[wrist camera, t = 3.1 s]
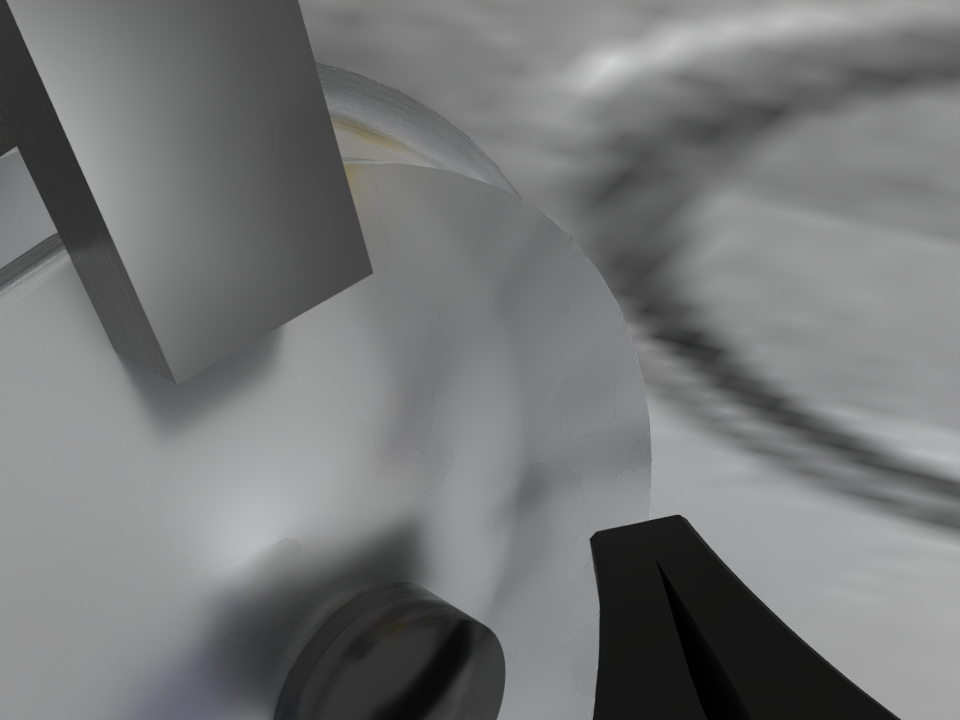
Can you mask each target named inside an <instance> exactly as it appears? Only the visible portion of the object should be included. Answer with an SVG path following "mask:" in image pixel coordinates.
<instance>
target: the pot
mask: <svg viewBox="0 0 960 720" xmlns="http://www.w3.org/2000/svg"><path fill="white" fill-rule="evenodd" d="M315 64H316V68H317V71H318V75H319V78H320V82H321V86H322V89H323V93H324V97H325V100H326V104H327V107H328V111H329V115H330V118H331V122H332V125H333V129H334V133H335V136H336V140H337V143H338V147H339V151H340V154H341V157H352V158H361V159H369V160H378V161H387V162H396V163H403V164H409V165H416V166H422V167H429V168H435V169H442V170H448V171H454V172H457V173H460V174H463V175H466V176H469V177H471V178H474V179H477V180H480V181H483V182H486V183H488V184H491V185H494V186H497V187H500V188H502V189H504V190H506V191H507V192H509V193H511V194H512V195H514V196H516V197H518V198H519V199H521V200H522V198H521V196H520V195H519V194H518V192H517V191H516V190H515V189H514V187H513V186H512V185H511V183H510V182H509V181H508V179H507V178H506V177H505V175H504V174H503V173H502V171H501V170H500V169H499V168H498V166H497V165H496V164H495V163H494V162H493V161H492V160H491V159H490V158H489V157H488V156H487V155H486V154H485V153H484V152H483V151H482V150H481V149H480V148H479V147H478V146H477V145H476V144H475V143H474V142H473V141H472V140H471V139H470V138H469V137H468V136H466V135H465V134H464V133H462V132H461V131H460V130H458V129H457V128H456V127H454V126H453V125H452V124H451V123H449V122H448V121H447V120H445V119H444V118H443V117H441V116H440V115H439V114H437V113H436V112H435V111H433V110H431V109H429V108H428V107H426V106H424V105H422V104H421V103H419V102H417V101H415V100H414V99H412V98H410V97H408V96H407V95H405V94H403V93H401V92H400V91H398V90H396V89H393V88H391V87H388V86H386V85H384V84H381V83H379V82H376V81H374V80H371V79H369V78H366V77H364V76H362V75H359V74H357V73H353V72H349V71H346V70H342V69H338V68H334V67H331V66H327V65H323V64H319V63H316V62H315ZM57 232H58V231H57V229H56V227H55V225H54V223H53V221H52V219H51V217H50V215H49V213H48V211H47V208H46V206H45V204H44V202H43V200H42V198H41V196H40V194H39V192H38V190H37V188H36V185H35V183H34V181H33V179H32V177H31V175H30V173H29V171H28V169H27V167H26V165H25V162H24V160H23V158H22V156H21V154H20V152H19V150H18V148H17V146H15V147H14V148H12V149H11V150H10V151H8V152H7V153H5V154H4V155H2V156H1V157H0V269H1V268H2V267H4V266H5V265H7V264H8V263H10V262H11V261H13V260H14V259H16V258H17V257H19V256H20V255H22V254H23V253H25V252H26V251H28V250H29V249H31V248H32V247H34V246H36V245H37V244H39V243H40V242H42V241H43V240H45V239H46V238H48V237H49V236H51V235H53V234H55V233H57Z"/></svg>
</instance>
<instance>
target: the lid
mask: <svg viewBox="0 0 960 720" xmlns="http://www.w3.org/2000/svg"><path fill="white" fill-rule="evenodd" d="M0 112H1V114H2V117H3V119H4V121H5V123H6V125H7V127H8V129H9V131H10V133H11V135H12V137H13V139H14V142H15V144H16V146H17V148H18V150H19V152H20V154H21V156H22V158H23V160H24V162H25V165H26V167H27V169H28V171H29V173H30V175H31V177H32V179H33V181H34V183H35V185H36V188H37V190H38V192H39V194H40V196H41V198H42V200H43V202H44V204H45V206H46V208H47V211H48V213H49V215H50V217H51V219H52V221H53V223H54V225H55V227H56V229H57V231H58V232H57V233H55V234H53V235H51V236H49V237H48V238H46V239H45V240H43V241H42V242H40V243H39V244H37V245H36V246H34V247H32V248H31V249H29V250H28V251H26V252H25V253H23V254H22V255H20V256H19V257H17V258H16V259H14V260H13V261H11V262H10V263H8V264H7V265H5V266H4V267H2V268H1V269H0V720H593V713H594V703H595V692H596V681H597V670H598V658H599V616H600V606H599V597H598V591H597V584H596V578H595V571H594V565H593V558H592V552H591V545H590V538H591V537H592V536H593V535H594V533H595V532H596V531H601V530H606V529H610V528H615V527H620V526H625V525H630V524H635V523H640V522H644V521H648V514H649V506H650V487H651V441H650V422H649V414H648V407H647V400H646V394H645V387H644V380H643V376H642V372H641V369H640V365H639V361H638V357H637V354H636V350H635V346H634V342H633V340H632V337H631V335H630V332H629V330H628V327H627V325H626V322H625V320H624V317H623V315H622V312H621V310H620V307H619V305H618V303H617V301H616V300H615V298H614V296H613V294H612V293H611V291H610V289H609V288H608V286H607V284H606V282H605V281H604V279H603V277H602V275H601V274H600V272H599V270H598V269H597V268H596V267H595V265H594V264H593V263H592V262H591V261H590V259H589V258H588V257H587V256H586V254H585V253H584V252H583V251H582V249H581V248H580V247H579V246H578V245H577V243H576V242H575V241H574V240H573V239H572V238H571V237H570V236H569V235H568V234H567V233H566V232H564V231H563V230H562V229H561V228H560V227H559V226H557V225H556V224H555V223H554V222H553V221H552V220H550V219H549V218H548V217H547V216H546V215H545V214H544V213H542V212H541V211H540V210H538V209H536V208H535V207H533V206H531V205H530V204H528V203H526V202H524V201H523V200H521V199H519V198H518V197H516V196H514V195H512V194H511V193H509V192H507V191H506V190H504V189H502V188H500V187H497V186H494V185H491V184H488V183H486V182H483V181H480V180H477V179H474V178H471V177H469V176H466V175H463V174H460V173H457V172H454V171H448V170H442V169H435V168H429V167H422V166H416V165H409V164H403V163H396V162H387V161H378V160H369V159H361V158H352V157H341V154H340V151H339V147H338V143H337V140H336V136H335V133H334V129H333V125H332V122H331V118H330V115H329V111H328V107H327V104H326V100H325V97H324V93H323V89H322V86H321V82H320V78H319V75H318V71H317V68H316V64H315V60H314V57H313V53H312V50H311V46H310V42H309V39H308V35H307V32H306V28H305V24H304V21H303V17H302V14H301V10H300V6H299V3H298V0H0Z"/></svg>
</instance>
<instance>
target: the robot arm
mask: <svg viewBox="0 0 960 720" xmlns="http://www.w3.org/2000/svg"><path fill="white" fill-rule="evenodd" d="M590 545H591V552H592V558H593V565H594V571H595V578H596V584H597V591H598V597H599V606H600V616H599V658H598V670H597V681H596V692H595V703H594V713H593V720H901V719H899V718H898V717H897V716H895V715H894V714H893V713H891V712H890V711H889V710H887V709H886V708H885V707H884V706H882V705H881V704H880V703H878V702H877V701H876V700H874V699H873V698H872V697H870V696H869V695H868V694H867V693H865V692H864V691H863V690H861V689H860V688H859V687H858V686H856V685H855V684H854V683H853V682H851V681H850V680H849V679H848V678H847V677H845V676H844V675H843V674H842V673H841V672H839V671H838V670H837V669H836V668H835V667H833V666H832V665H831V664H830V663H829V662H828V661H826V660H825V659H824V658H823V657H822V656H821V655H819V654H818V653H817V652H816V651H815V650H814V649H813V648H811V647H810V646H809V645H808V644H807V643H806V642H805V641H803V640H802V639H801V638H800V637H799V636H798V635H797V634H796V633H795V632H794V631H792V630H791V629H790V628H789V627H788V626H787V625H786V624H785V623H784V622H783V621H782V620H781V619H780V618H779V617H778V616H777V615H775V614H774V613H773V612H772V611H771V610H770V609H769V608H768V607H767V606H766V605H765V604H764V603H763V602H762V601H761V600H760V599H759V598H758V597H757V596H756V595H755V594H754V593H753V592H752V591H751V590H750V589H749V588H748V587H747V586H746V585H745V584H744V583H743V582H742V581H741V580H740V579H739V578H738V577H737V576H736V575H735V574H734V573H733V572H732V571H731V570H730V569H729V567H728V566H727V565H726V564H725V563H724V562H723V561H722V560H721V559H720V558H719V557H718V556H717V554H716V553H715V552H714V551H713V550H712V549H711V548H710V547H709V545H708V544H707V543H706V542H705V541H704V540H703V539H702V537H701V536H700V535H699V534H698V533H697V531H696V530H695V529H694V528H693V527H692V525H691V524H690V523H689V522H688V520H687V519H685V518H684V517H682V516H681V515H674V516H669V517H664V518H659V519H654V520H649V521H644V522H640V523H635V524H630V525H625V526H620V527H615V528H610V529H606V530H601V531H596V532H595V533H594V535H593V536H592V537H591V538H590Z"/></svg>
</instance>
